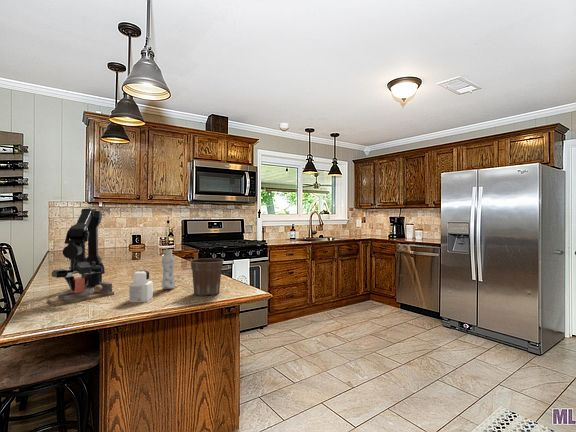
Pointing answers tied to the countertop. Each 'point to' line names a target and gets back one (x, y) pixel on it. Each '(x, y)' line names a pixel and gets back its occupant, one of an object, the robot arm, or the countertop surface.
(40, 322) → the countertop surface
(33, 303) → the countertop surface
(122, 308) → the countertop surface
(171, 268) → the plastic bottle
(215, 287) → the plant pot
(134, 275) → the container
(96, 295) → the nutcracker base
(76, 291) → the block
